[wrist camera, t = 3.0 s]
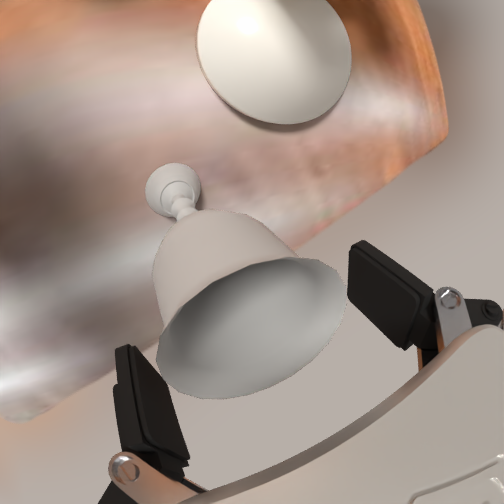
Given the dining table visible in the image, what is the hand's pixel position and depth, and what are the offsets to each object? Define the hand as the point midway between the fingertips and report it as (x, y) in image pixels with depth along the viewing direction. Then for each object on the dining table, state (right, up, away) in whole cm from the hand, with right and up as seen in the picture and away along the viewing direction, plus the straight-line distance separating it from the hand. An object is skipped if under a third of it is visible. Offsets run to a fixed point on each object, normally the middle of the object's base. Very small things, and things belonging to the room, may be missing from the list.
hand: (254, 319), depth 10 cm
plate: (+3, +22, +9) cm, 24 cm away
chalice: (-7, +8, +13) cm, 17 cm away
